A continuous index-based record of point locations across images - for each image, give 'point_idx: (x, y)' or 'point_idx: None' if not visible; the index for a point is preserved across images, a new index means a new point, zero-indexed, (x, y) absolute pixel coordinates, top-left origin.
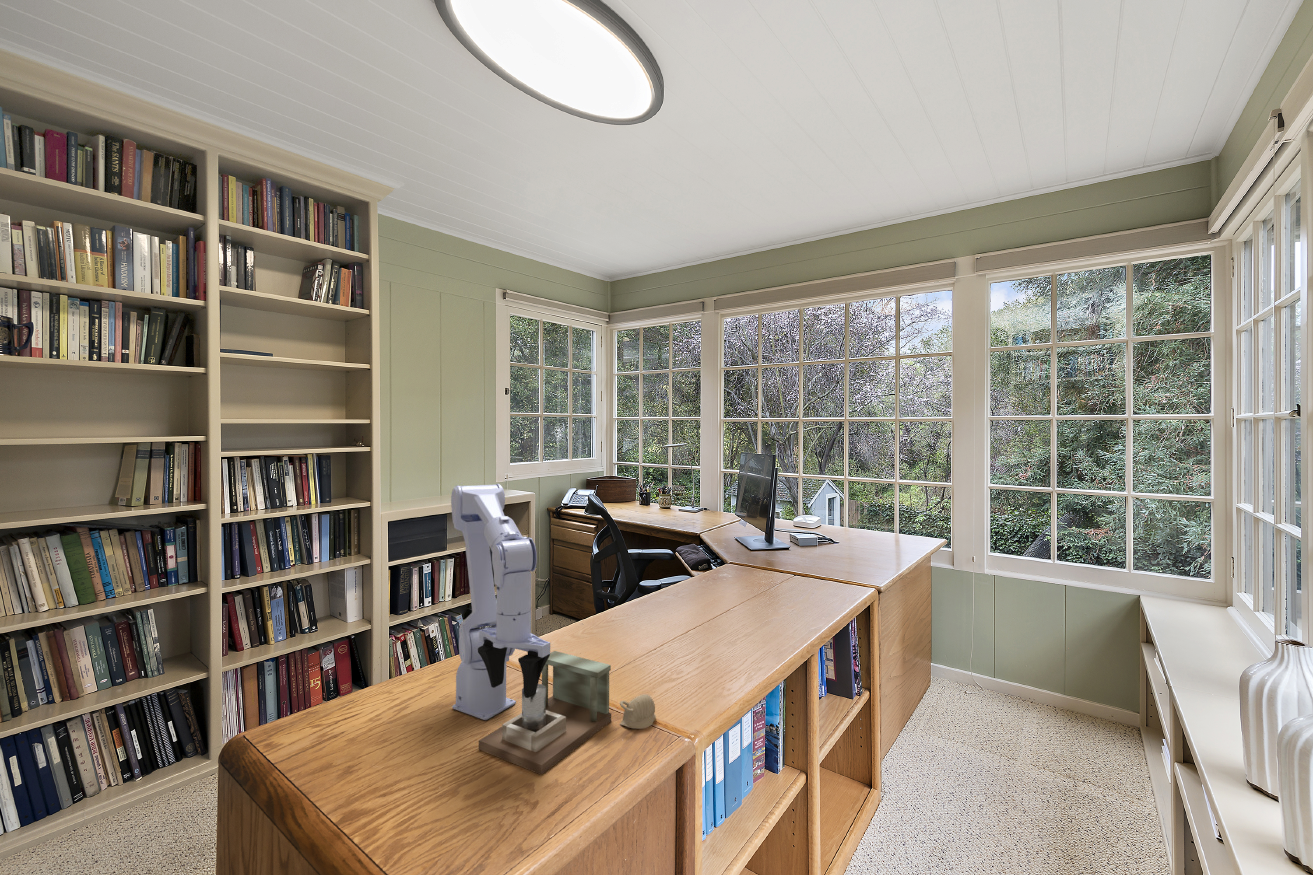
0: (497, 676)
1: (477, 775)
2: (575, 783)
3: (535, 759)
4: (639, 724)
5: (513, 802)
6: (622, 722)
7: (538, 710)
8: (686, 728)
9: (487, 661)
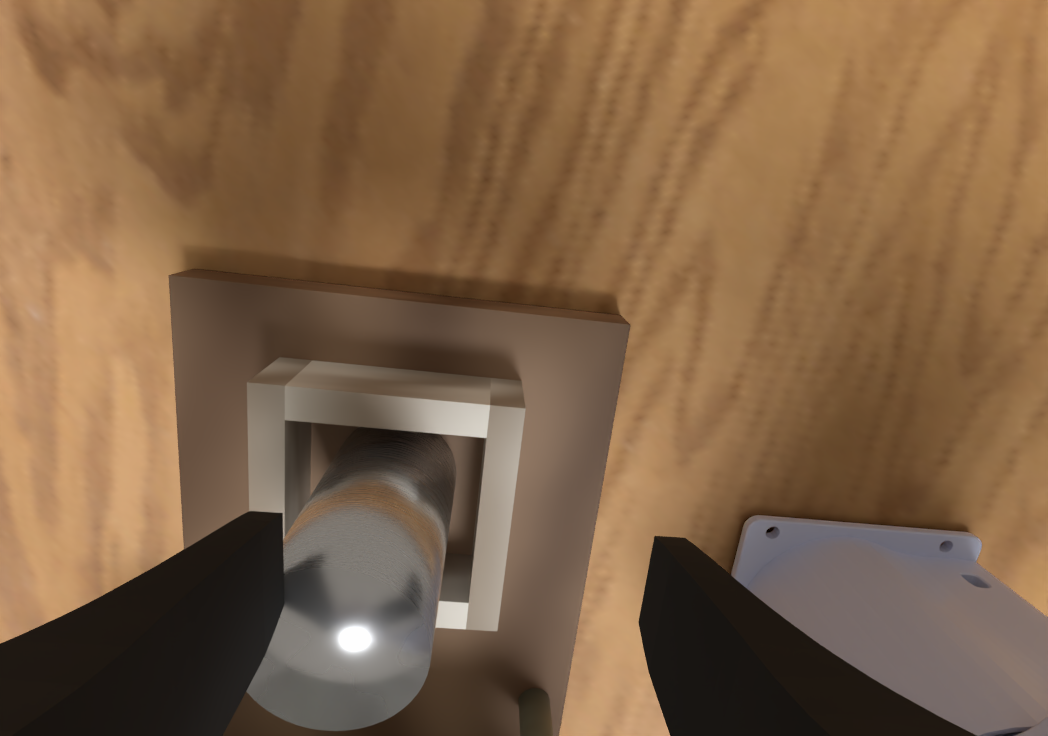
0: (675, 632)
1: (473, 133)
2: (3, 280)
3: (235, 305)
4: None
5: (149, 22)
6: None
7: (289, 530)
8: None
9: (833, 704)
